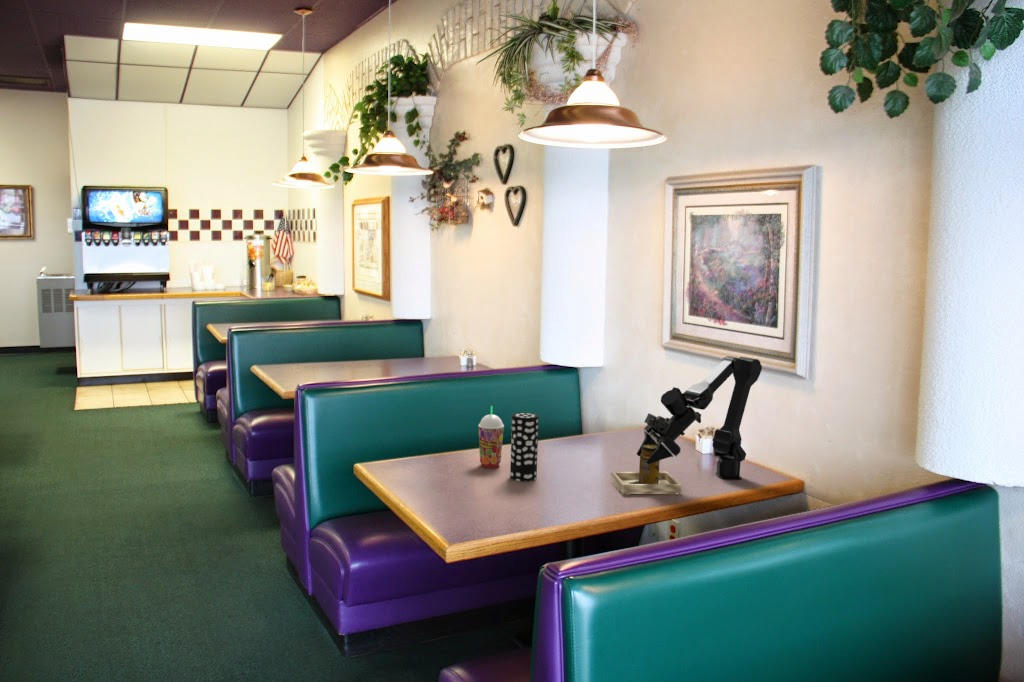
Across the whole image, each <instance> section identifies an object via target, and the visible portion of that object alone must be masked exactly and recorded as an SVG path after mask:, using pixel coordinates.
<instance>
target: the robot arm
mask: <svg viewBox="0 0 1024 682" xmlns="http://www.w3.org/2000/svg"><path fill="white" fill-rule="evenodd" d="M762 370H763V365H762V364H761V361H760V360H759V359H758V358H751V357H745V356H740V357H736V356H729V355H727V356H724V357H723V358H722V360H721V362H720V363H719V364H718V365H717V366H715V368H714V369H713V370H712V371H711V372H710V373H709V374H708V375H707V376H706V377H705V378H704V379H703V380H702V381H700V382H698V383H696V384H693V385H692V386H690V387H689V388H687V389H686V390H685V391H684V392H682V391H681V389H680V388H679V387H675V386H674V387H672V388H671V389H669V390H668V391H666V392H664V393H663V394H661V397H660V403H661V404H662V406H664V408H665V409H666V411H668V412H669V413H670V415H672V416H670V418H669V417H664V416H661V415H658V416H656V415H654V414H652V413H647V416H646V417H645V420H644V424H646V426H645V427H644V428H643V430H644V431H643V434H644V439H643V441H642V443H641V445H640V447H639V449H638V450H637V453H636V455H637V456H638V457H640V454H641V453H642V452H641V451H642V446H643V445H655V446H657V448H656V449H655V451H654V452H653V453H652V454H651V456H650V457H649V458H648V459H647V461H646V463H647V464H651V463H654V462H656V461H659V460H660V461H662V460H665V459H668V458H673V457H674V456H675V457H678V456H679V454H680V453H681V447H680V446H679V445H678V443H676V440H677V439H678V438H679V437H680V436H682V437H684V435H686V432H685V431H686V430H687V429H688V428H689V427H690V426H691V425H692V424H693V423H694V422H695V421H696V422H697V423H698V424H701V423H702V414H701V413H700V412H698V411H695V409H698V410H703V411H704V410H706V409H707V408H708V407H709V405H710V404H711V402H712V401H713V400H714V393H715V392H716V391H717V390H718V389H719V388H720V387H721V386H722V385H723V384H724V383H725V382H726V381H727V380H728V379H729V377H730V376H731V375H733V379H734V387H733V390H732V394H731V397H730V400H729V404H728V408H727V412H726V415H725V419H724V423H723V424H722V425H723V426H721V428H719V429H718V428H716V429H715V431H714V435H713V438H712V439H711V441H712V447H713V452H714V456H715V457H718V461H717V462H716V470H715V474H716V475H717V476H718V477H719V478H720V479H722V480H735V479H736V480H741V479H742V476H741V463H742V462H743V461H745V460H746V456H747V453H746V451H745V450H744V448H743V447H742V436H741V431H740V427H741V424H742V421H743V417H744V413H745V409H746V405H747V401H748V399H749V394H750V391H751V387H752V386H754V385H755V383H756V382H757V381H758V380H759V378H760V375H761V374H762V373H761V372H762Z"/></svg>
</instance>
